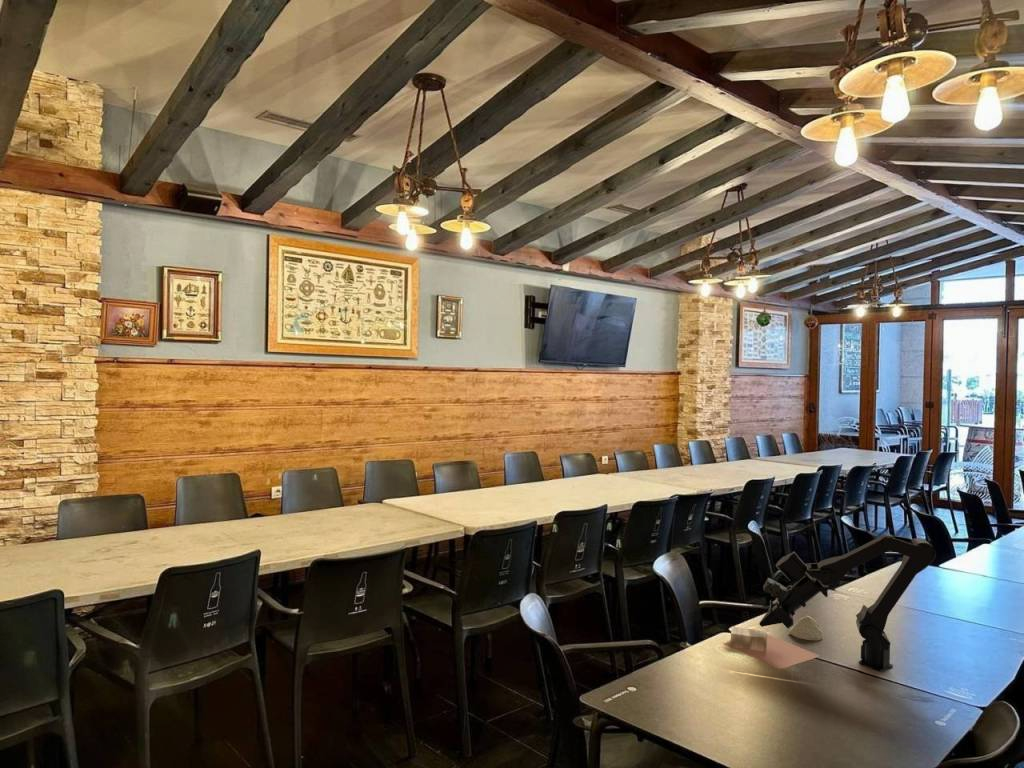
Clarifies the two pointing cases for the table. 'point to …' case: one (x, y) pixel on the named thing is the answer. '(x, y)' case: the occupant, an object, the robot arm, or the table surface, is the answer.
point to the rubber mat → (779, 653)
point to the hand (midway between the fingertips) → (760, 625)
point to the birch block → (749, 639)
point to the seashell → (807, 629)
